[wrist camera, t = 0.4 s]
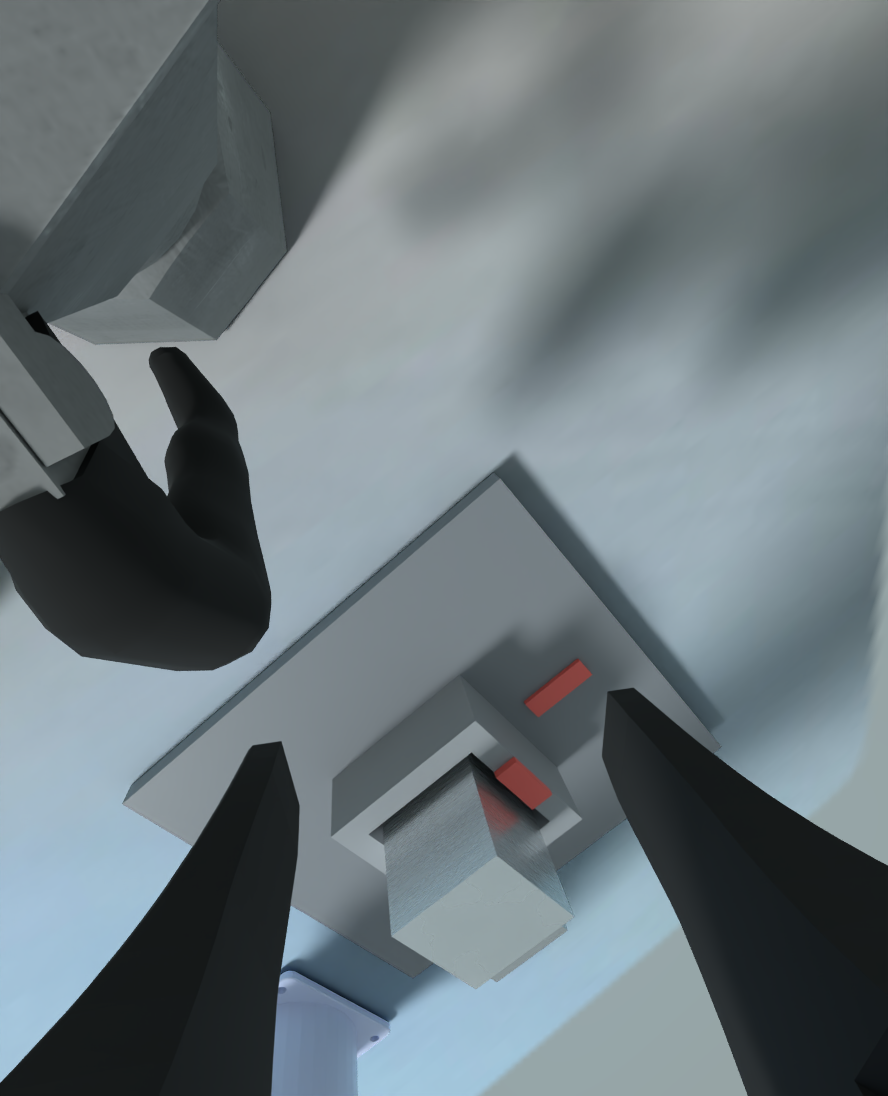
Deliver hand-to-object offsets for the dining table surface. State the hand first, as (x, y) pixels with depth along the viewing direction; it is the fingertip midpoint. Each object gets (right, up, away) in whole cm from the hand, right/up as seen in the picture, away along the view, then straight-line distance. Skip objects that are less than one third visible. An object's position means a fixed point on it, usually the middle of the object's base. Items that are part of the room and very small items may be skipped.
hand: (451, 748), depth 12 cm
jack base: (0, -5, +13) cm, 14 cm away
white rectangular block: (0, -6, +13) cm, 14 cm away
